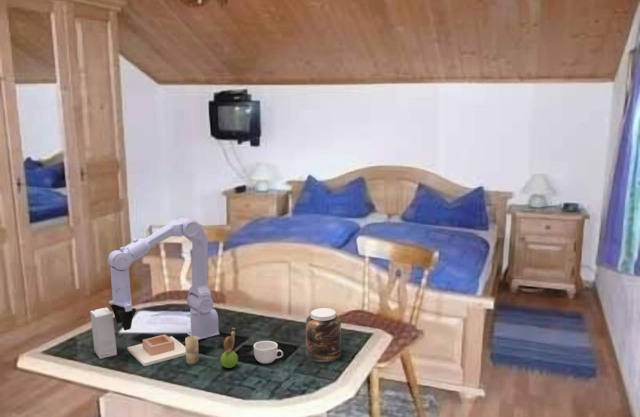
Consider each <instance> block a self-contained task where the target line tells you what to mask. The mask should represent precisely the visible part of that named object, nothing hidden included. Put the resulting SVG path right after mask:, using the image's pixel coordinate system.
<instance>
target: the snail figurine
mask: <svg viewBox="0 0 640 417" xmlns="http://www.w3.org/2000/svg"><path fill="white" fill-rule="evenodd" d="M231 330H232V331H231V332H230V335H229V336H226V337H225V338H224V339H223V349H224V352H223V353H222V354H221V356H220V363H221V365H222V366H223V367H224V368H226V369H232V368H234V367H236V365H237V364H238V360H239V357H238V354H237V353H236V352H235V351H234V350H233V349H234V345H235V340H236V339H235V338H236V337H235V335H236V331H235V330H236V328H235V327H231Z"/></svg>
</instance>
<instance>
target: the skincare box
mask: <svg viewBox="0 0 640 417" xmlns="http://www.w3.org/2000/svg"><path fill="white" fill-rule="evenodd" d="M90 320H91V330H92V331H91V332H92V339H93V348H94V349H93V350H94V353H95V354H96V356H98V358H99V359H100V360H101V359H104V358H109V357H115V356H117V355H118V353H117V341H116V334H115V333H116V332H115V325H114V324H115V323H114V312H113V311H111V310H110V309H109V307H101V308H97V309H94V310H90Z"/></svg>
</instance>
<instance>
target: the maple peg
mask: <svg viewBox="0 0 640 417" xmlns="http://www.w3.org/2000/svg"><path fill="white" fill-rule="evenodd" d="M184 341H185V342H184V343H185V345H184V346H185V347H186V355H185V360H186V361H185V362H186V364H188V365H193V364H194V365H195V364H197V363H199V362H200V360H199V358H200V357H199V355H200V354H199V340H198V337H197V336H189V335H188V336H186V337H185V339H184Z"/></svg>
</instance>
